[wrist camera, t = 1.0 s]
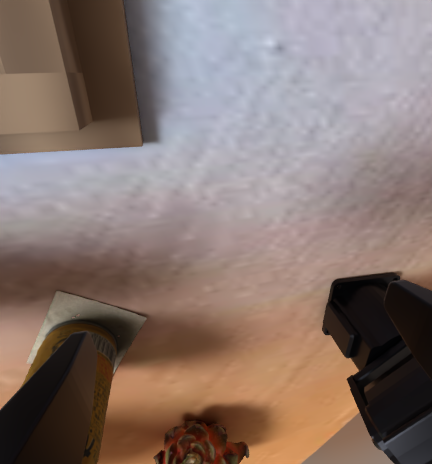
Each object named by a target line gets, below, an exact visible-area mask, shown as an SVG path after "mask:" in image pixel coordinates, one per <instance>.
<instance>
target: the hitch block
mask: <svg viewBox="0 0 432 464" xmlns="http://www.w3.org/2000/svg"><path fill="white" fill-rule="evenodd" d="M139 146H143V137H142V130H141V123H140V116H139V108H138V101H137V94H136V87H135V80H134V72H133V65H132V58H131V51H130V44H129V36H128V29H127V22H126V15H125V8H124V0H0V154H16V153H34V152H51V151H69V150H87V149H104V148H122V147H139Z"/></svg>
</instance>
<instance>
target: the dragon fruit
mask: <svg viewBox="0 0 432 464" xmlns="http://www.w3.org/2000/svg"><path fill="white" fill-rule="evenodd" d="M244 456H246V458H248V457H249V449H248V446H247V444H246V443H245V442H239V443H232V442H227V434H226V428H225V427H224V426H222V425H219V424H217V423H213V424H211V425H209V426H206V424H205V423H204V422H202V421H196V420H195V421H186V422H185V423H184V424H183V426H182V427H174V428H172V429H170V430H169V431H168V432H167V433H166V434H165V441H164V451H162V450H161V451H160V452H159V453H158V454H157V455H156V456H154V457H153V458H154V459H155V461H156V464H239V463H240V462H241V460H242V459H243V457H244Z"/></svg>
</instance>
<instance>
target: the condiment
mask: <svg viewBox="0 0 432 464" xmlns="http://www.w3.org/2000/svg"><path fill="white" fill-rule="evenodd" d="M78 314H79V315H80V316H77V317H76V315H78ZM72 317H75V318H72ZM145 320H146V317H143V316H140V315H137V314H135V313H132V312H129V311H126V310H122V309H119V308H117V307H114V306H110V305H107V304H103V303H100V302H98V301H93V300H89V299H85V298H82V297H79V296H76V295H71V294H67V293H64V292H60V291H56V294H55V296H54V298H53V301H52V303H51V306H50V308H49V310H48V313H47V315H46V317H45V320H44V322H43V325H42V327H41V330H40V332H39V334H38V337H37V339H36V341H35V344H34V346H33V349H32V351H31V353H30V356H29V358H28V360H27V363H31V364H32V365H31V367H30V369H29V372H28V374H27V376H26V378H25V381H24V383H23V384H22V386H23V385H24V384H25V383H26V382H27V381H28V380H29V379H30V378H31V376H32V375H33V374H34V373H35V372H36V371H37V370H38V369H39V368H40V367H41V366H42V365H43V364H44V363H45V362H46V360H47V359H48V358H49V357H50V356H51V355H52V354H53V353H54V352H55V351H56V350H57V349H58V348H59V347H60V345H61V344H62V343H63V342H64V341H65V340H66V339H67V338H68V337H69V336H70V335H71V334H72V333H75V332H81V331H88V332H89V333H90V335H91V337H92V340H93V342H94V345H95V348H96V350H97V367H96V377H95V387H94V397H93V407H92V415H91V420H90V426H89V431H88V435H87V440H86V445H85V450H84V454H83V459H82V464H97V462H98V458H99V453H100V447H101V440H102V434H103V428H104V422H105V416H106V410H107V405H108V399H109V395H110V389H111V383H112V377H113V374H114V372H115V370H116V368H117V367H118V365H119V363H120V361H121V360H122V358H123V357H124V355H125V353H126V352H127V350H128V348H129V347H130V346H131V344H132V342H133V340H134V338H135V337H136V335H137V333H138V332H139V330H140V329H141V327H142V326H143V324H144V322H145ZM118 336H120V337H118ZM22 386H21V387H22Z"/></svg>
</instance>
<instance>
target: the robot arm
mask: <svg viewBox="0 0 432 464" xmlns="http://www.w3.org/2000/svg"><path fill="white" fill-rule="evenodd" d="M322 331H323V333H324V334H325V335H331V336H332V338H333V339H334V341H335V342H336V344H337V346H338V347H339V349H340V350H341V352H342V353H343V355H344V356H345V357H346V358H351V359H352V361H353V362H354V364H355V365H356V367H357V368H358V370H359V372H357V373H356V374H355V375H351V376H350V377H348V378H347V381H348V383H349V386H350V388H351V389H350V390H351V393H352V395H353V397H354V400H355V402H356V404H357V407H358V409H359V411H360V413H361V416H362V418H363V420H364V423H365V425H366V427H367V430H368V432H369V434H370V436H371V438H372V441H373V443H374V445H375V446H376V447H377V448H378V449H379V450H382V451H384V453H385V454H386V455H387V456H388V457H389V458H390V460H391V461H392V462H393V463H394V464H432V291H431V290H428V289H426V288H423V287H421V286H419V285H416V284H414V283H411V282H409V281H406V280H400V276H399V275H397V274H396V273H390V274H382V275H374V276H366V277H358V278H349V279H341V280H336V281H334V282H333V283H332V285H331V289H330V294H329V299H328V303H327V305H326V310H325V315H324V320H323V327H322ZM96 367H97V350H96V348H95V345H94V342H93V340H92V337H91V335H90V333H89V332H88V331H81V332H75V333H72V334H71V335H70V336H69V337H68V338H67V339H66V340H65V341H64V342H63V343H62V344H61V345H60V347H59V348H58V349H57V350H56V351H55V352H54V353H53V354H52V355H51V356H50V357H49V358H48V359H47V360H46V362H45V363H44V364H43V365H42V366H41V367H40V368H39V369H38V370H37V371H36V372H35V373H34V374H33V375H32V376H31V378H30V379H29V380H28V381H27V382H26V383H25V384H24V385H23V386H22V387H21V388H20V389H19V390H18V391H17V393H16V394H15V395H14V396H13V397H12V398H11V399H10V400H9V401H8V402H7V403H6V404H5V405H4V406H3V407H2V409H1V410H0V464H82V459H83V454H84V450H85V445H86V440H87V435H88V431H89V426H90V420H91V415H92V407H93V397H94V387H95V377H96Z"/></svg>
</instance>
